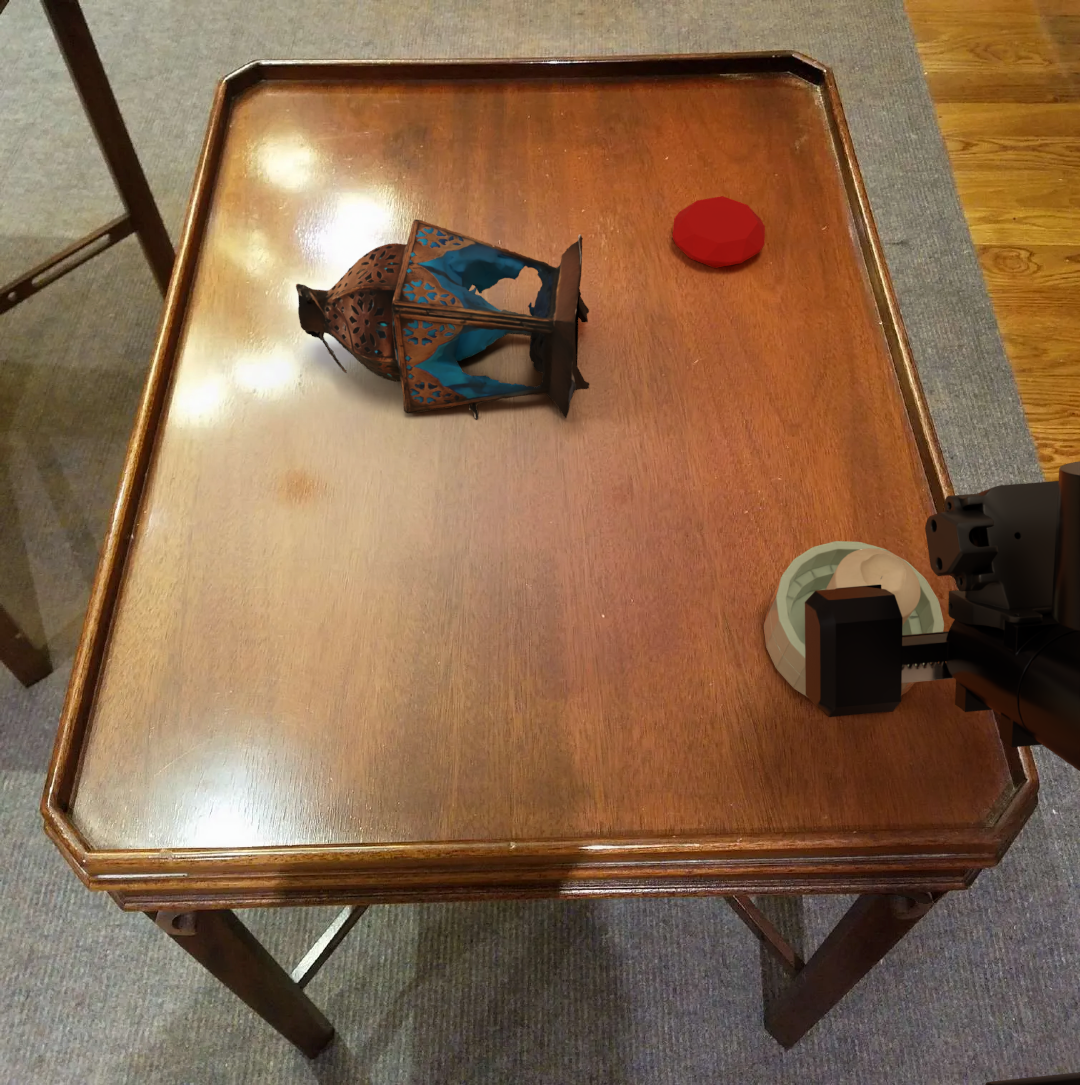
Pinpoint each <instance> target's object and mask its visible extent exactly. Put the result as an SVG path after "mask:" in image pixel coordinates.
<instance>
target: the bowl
mask: <svg viewBox="0 0 1080 1085" xmlns="http://www.w3.org/2000/svg"><path fill="white" fill-rule="evenodd" d="M868 548H872V549H880V550H884V551H887V552H890V553H892V554H894V555H896V556H898V557H900V556H899V555H897V554H895V553H894V552H892V551H890V550H888V549H886V548H884V547H879V546H877V545H873V544H869V543H866V542H862V541H854V540H853V541H847V540H845V541H844V540H835V541H831V542H830V541H829V542H827V543H826V542H825V543H823V544H819V545H815V546H812V547H810V548H809V549H808V550H806V551H804V552H803V553H801V554H799V555H798V556H796V557H795V558H794V559H793V560H791V562H790V564H789V565H788V567H787V568H786V569H785V570H784V572H783V573H782V575H781V576H780V578H779V581H778V583H777V586H776V588H775V590H774V593H773V595H772V597H771V600H770V601H769V604H768V607H767V611H766V614H765V618H764V622H763V632H764V641H765V647H766V650H767V652H768V654H769V656H770V659H771V661H772V663H773V665H774V667H775V669H776V671H777V672H778V673H779V674H780V675H781V676H782V677H783V678H784V679H785V681H786V682H787V683H788V684H789V685H790V686H791V687H792V689H794V690H796V691H797V692H799V693H800V694H802V695H803V696H805V697H806V698H808V697H807V696H806V687H805V601H806V600H807V599H808V598H809V597H810V596H811V595H812V594H813V593H814V592H815V591H818V590H826V588H827V586H828V584H829V582H830V580H831V578H832V576H833V575H834V573H835V571H836V569H837V567H838V565H839V564H840V562H841V561H842V559H843V558H844V557H846V556H847V555H848V554H850V553H852V552H854V551H857V550H860V549H868ZM900 558H901V559H902V560H904V561H905V562H906V563H907V564H908V565H909V566H910V567H911V568H912V569H913V571H914V572H915V574H916V576H917V578H918V580H919V583H920V589H921V594H920V599H919V602H918V604H917V606H916V608H915V609H914V610H913V612H912V613H911V615H910V616H909V617H908V619H907V620H906V622H905V623H904V624H903V626H902V635H911V634H922V633H934V632H944V630H945V622H944V617H943V613H942V608H941V605H940V601H939V598H938V597H937V595H936V593H935V592H934V590H933V589H932V587H931V585H930V583H929V582H928V580H927V579H926V577H924V576H923V574H921V573H920V572H919V571H918V570H917V569H916V568H915V567H914V566H913V565H912V564H911V563H910V562H908V561H907V560H906V559H904V558H902V557H900ZM915 665H916V664H915ZM923 665H924V663H923ZM908 666H909V665H908ZM914 684H916V682H910V683H902V689H901V697H902V696H903V695H905V694H906V693H907V692H908V691H909V690H911V688H912V687H913V686H914Z"/></svg>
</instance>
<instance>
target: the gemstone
mask: <svg viewBox="0 0 1080 1085" xmlns="http://www.w3.org/2000/svg"><path fill="white" fill-rule="evenodd" d="M671 238H672V240H673V242H674V244H675V246H677V248H678V249H680V251H681V252H683V253H684V255H686V257H688V258H689V259H690V260H692V261H695V262H698V263H700V264H703V265H705V266H708V267H711V268H714V269H717V268H723V267H729V266H733V265H739V264H742V263H744V262H745V261H747V260H749V259H750V258H752V257H754V256H756V255H757V254H759V253H760V252H761V251H762V250H763V248H764V247H765V243H766V242H765V241H766V226H765V224H764V222H763V221H762V219H761V217H759V215H758V214H757V213H756V212H755V211H754V210H753V209H752V208H751V207H750V205H749V204H747V203H743V202H741V201H738V200H736V199H732V198H729V197H726V196H723V195H719V196H715V197H709V198H704V199H697V200H695V201H694V202H692V203H691V204H689V205H688V206H686V207H684V208H683V209H682V210H680V211H678V213H677V214H676V216H675V217H674V218H673V226H672V237H671Z"/></svg>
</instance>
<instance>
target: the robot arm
mask: <svg viewBox="0 0 1080 1085" xmlns="http://www.w3.org/2000/svg"><path fill="white" fill-rule="evenodd" d="M943 503H944V504H943V505H944V511H941V512H937V513H935V514H931V515H929V516H928V518H927V519H926V522H925V526H924V530H925V531H924V532H925V538H926V543H927V545H926V546H927V552H928V558H929V559H928V560H929V564H930V569H931V570H932V572H933V573H934V574H935V575H936V576H937V577H948V576H949V577H952V579H953V580H954V581H955V585H956V588H957V590H956V589H955V590H948V602H947V603H948V608H947V614H948V617H949V618H951V619H953V621H952V623H951V625H950V627H949V629H948V631H947V630H945V631H943V632H934V633H922V634H911V635H902V624H903V617H902V614H901V612H900V609H899V606H898V603H897V600H896V597H895V595H894V594H893V593H891V592H889V591H888V590H886V589H881V585H868V586H856V587H844V588H836V589H830V590H818V591H815V592H814V593H813V594H812V595H811V596H810V597H809V598H808V599H807V600H806V601H805V687H806V696H807V697H806V696H805V697H806V698H808V699H809V700H810V702H812V704H814V706H815V707H817V708H818V710H820V711H821V712H822V713H823V714H824V715H825V716H827V717H828V718H837V717H848V716H857V715H859V716H860V715H871V714H882V713H893V712H894V711H895V710H896V709H897V707H898V706H899V705H900V704H901V703H902V696H901V689H902V683H910V682H915V683H919V682H932V681H940V680H941V681H942V680H954V681H955V690H954V691H955V692H954V693H955V694H954V697H955V698H954V705H955V706H956V707H957V708H959V709H960V710H962V711H963V712H964V713H972V712H983V711H993V712H995V713H997V715H999V716H1000V721H999V725H1000V726H999V739H1000V740H1001V741H1002V742H1004V743H1005V744H1007V745H1008V746H1009V747H1010V748H1020V747H1021V748H1022V747H1033V746H1043V747H1045V748H1046V749H1047V750H1049V751H1051V752H1052V753H1053V754H1054V755H1056V756H1057V757H1059V758H1060V759H1062V760H1063V761H1065V762H1066V763H1067V764H1069V765H1070V766H1071V767H1072V768H1074V769H1076V771H1078V772H1080V460H1079V461H1073V462H1067V463H1065V464H1063V465H1060V466H1059V468H1058V480H1052V481H1051V480H1049V481H1039V482H1038V481H1037V482H1025V483H1024V482H1023V483H1014V484H1013V483H1012V484H1002V485H996V486H993V487H990V488H988V489H985V490H982V491H980V492H976V493H967V494H956V495H947V496H946V497H945V499H944V502H943ZM923 663H924V665H923ZM915 664H916V665H915ZM908 665H909V666H908ZM984 1085H1080V1071H1077V1072H1068V1073H1067V1072H1065V1073H1059V1074H1058V1073H1057V1074H1050V1075H1049V1074H1048V1075H1039V1076H1031V1077H1021V1078H1019V1077H1018V1078H1011V1079H1010V1078H1009V1079H1002V1080H993V1081H992V1080H991V1081H987V1082H985V1084H984Z"/></svg>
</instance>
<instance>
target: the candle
mask: <svg viewBox="0 0 1080 1085" xmlns="http://www.w3.org/2000/svg"><path fill="white" fill-rule="evenodd" d="M890 552H891V551H890ZM890 552H887V551H884V550H880V549H872V548H868V549H860V550H857V551H854V552H852V553H850V554H848V555H847V556H846V557H844V558H843V559H842V561H841V562H840V564H839V565H838V567H837V569H836V571H835V573H834V575H833V576H832V578H831V580H830V582H829V584H828V586H827V588H826V590H830V589H836V588H844V587H856V586H868V585H881V589H886V590H888V591H889V592H891V593H893V594H894V595H895V597H896V600H897V603H898V606H899V609H900V612H901V614H902V617H903V624H904V623H905V622H906V620H907V619H908V617H909V616H910V615H911V613H912V612H913V610H914V609H915V608H916V606H917V604H918V602H919V599H920V594H921V589H920V583H919V580H918V578H917V576H916V574H915V572H914V571H913V569H912V568H911V567H910V566H909V565H908V564H907V563H906V562H905V561H904V560H905V559H904V560H902V559H903V558H902V557H900V556H899V555H897V554H895V553H893V552H891V553H890ZM892 553H893V554H892ZM894 554H895V555H894ZM896 555H897V556H896ZM898 556H899V557H898ZM901 558H902V559H901ZM903 624H902V626H903Z"/></svg>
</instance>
